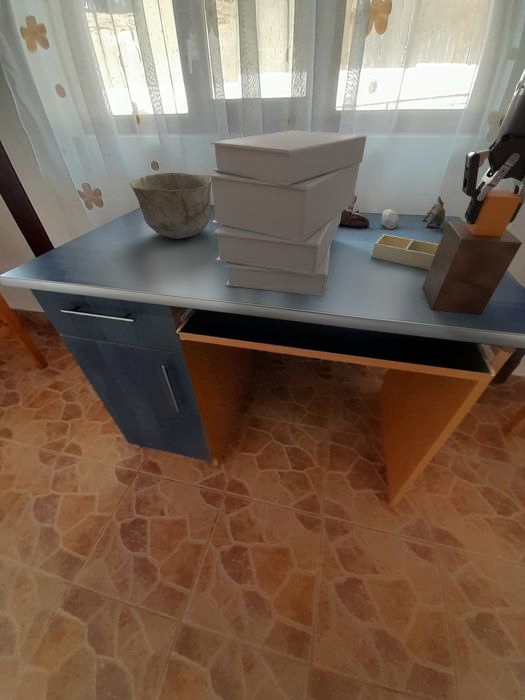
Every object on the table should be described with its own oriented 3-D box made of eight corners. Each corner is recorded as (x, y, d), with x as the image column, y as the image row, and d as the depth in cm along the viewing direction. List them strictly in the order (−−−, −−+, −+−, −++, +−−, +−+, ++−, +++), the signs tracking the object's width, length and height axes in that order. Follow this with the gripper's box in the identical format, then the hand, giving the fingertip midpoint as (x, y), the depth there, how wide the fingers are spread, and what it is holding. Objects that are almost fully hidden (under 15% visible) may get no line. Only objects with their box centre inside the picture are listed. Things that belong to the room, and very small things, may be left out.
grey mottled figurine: (421, 219, 99) (429, 194, 94) (440, 220, 97) (450, 196, 92) (422, 231, 90) (430, 204, 86) (442, 233, 89) (453, 206, 84)
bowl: (167, 220, 100) (157, 169, 90) (228, 226, 96) (223, 173, 86) (128, 245, 85) (110, 186, 75) (198, 253, 80) (189, 192, 70)
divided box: (468, 278, 68) (475, 263, 65) (371, 257, 77) (374, 243, 74) (471, 265, 73) (478, 251, 70) (379, 247, 82) (383, 233, 79)
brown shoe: (324, 229, 100) (346, 206, 99) (352, 245, 94) (375, 221, 94) (321, 215, 94) (344, 191, 94) (350, 232, 88) (375, 206, 88)
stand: (466, 291, 63) (500, 224, 54) (481, 314, 57) (522, 242, 48) (422, 287, 65) (447, 221, 56) (431, 310, 58) (462, 239, 49)
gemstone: (386, 211, 96) (396, 204, 91) (392, 229, 97) (404, 223, 92) (371, 217, 95) (381, 210, 90) (378, 236, 95) (388, 230, 90)
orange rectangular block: (491, 227, 53) (509, 190, 49) (501, 236, 50) (522, 197, 46) (464, 226, 54) (480, 189, 50) (472, 235, 50) (489, 196, 46)
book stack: (345, 238, 87) (364, 129, 70) (345, 301, 61) (375, 152, 44) (245, 232, 92) (240, 128, 75) (206, 287, 66) (185, 149, 49)
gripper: (500, 93, 38) (446, 229, 49) (631, 91, 36) (543, 234, 47) (480, 92, 43) (436, 214, 55) (592, 91, 41) (522, 219, 52)
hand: (486, 223), depth 51 cm, fingers closed on orange rectangular block, 4 cm apart
